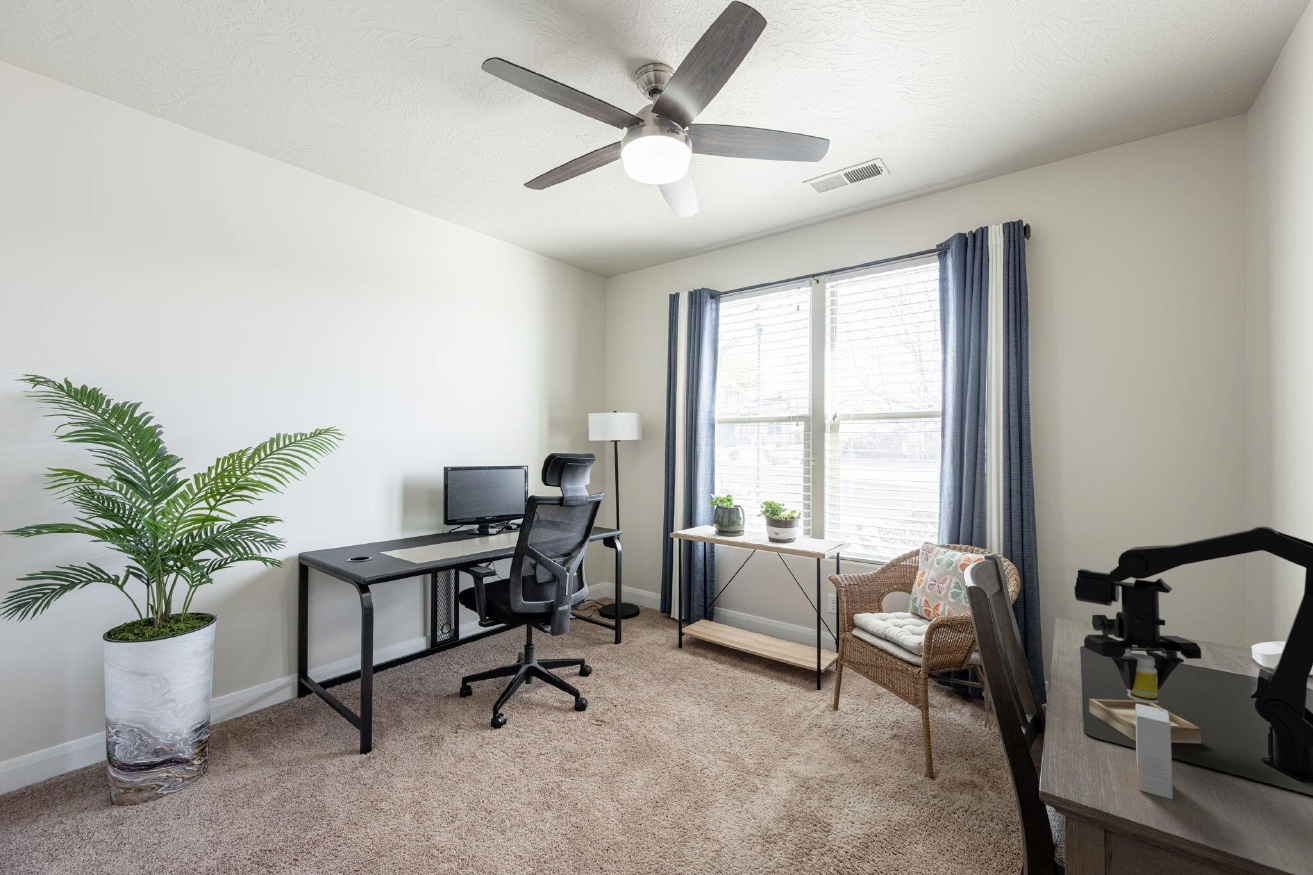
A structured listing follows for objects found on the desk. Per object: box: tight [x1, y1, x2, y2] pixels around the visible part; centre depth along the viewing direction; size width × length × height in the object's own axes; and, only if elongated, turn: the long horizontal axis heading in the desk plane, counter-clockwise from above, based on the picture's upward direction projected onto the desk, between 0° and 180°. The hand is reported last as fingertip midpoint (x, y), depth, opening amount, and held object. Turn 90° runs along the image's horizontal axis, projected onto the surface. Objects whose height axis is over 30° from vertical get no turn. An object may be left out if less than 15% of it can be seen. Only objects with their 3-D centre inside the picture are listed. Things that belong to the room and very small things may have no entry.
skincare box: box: [1135, 704, 1174, 800], centre depth 91 cm, size 6×4×12 cm
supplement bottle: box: [1126, 652, 1159, 704], centre depth 112 cm, size 5×5×8 cm
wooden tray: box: [1088, 698, 1202, 744], centre depth 112 cm, size 12×12×3 cm
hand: (1142, 689), depth 112 cm, fingers closed on supplement bottle, 5 cm apart
